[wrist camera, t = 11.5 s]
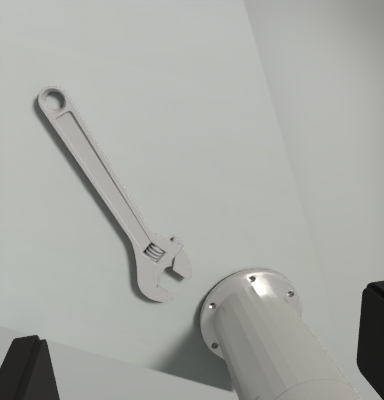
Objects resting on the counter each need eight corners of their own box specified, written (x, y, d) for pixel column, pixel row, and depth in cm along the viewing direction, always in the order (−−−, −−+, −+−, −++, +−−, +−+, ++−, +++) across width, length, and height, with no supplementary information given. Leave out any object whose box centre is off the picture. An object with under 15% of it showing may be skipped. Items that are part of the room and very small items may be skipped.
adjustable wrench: (34, 93, 34) (30, 94, 32) (97, 65, 34) (96, 64, 33) (149, 300, 42) (150, 308, 41) (199, 276, 42) (202, 284, 41)
